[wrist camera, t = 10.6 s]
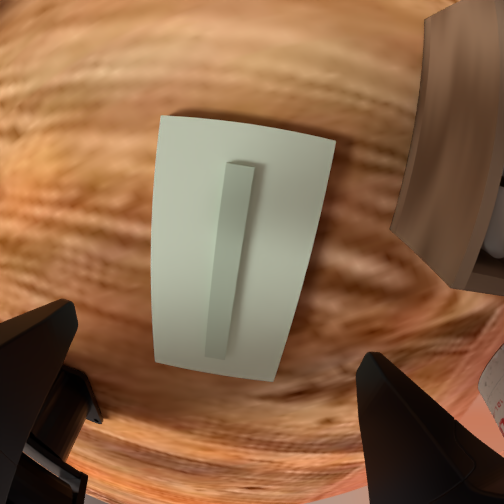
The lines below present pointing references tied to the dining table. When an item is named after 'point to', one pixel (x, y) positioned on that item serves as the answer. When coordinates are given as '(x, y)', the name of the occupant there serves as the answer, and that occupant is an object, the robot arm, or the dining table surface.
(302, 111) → the dining table surface
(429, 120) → the box
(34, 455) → the robot arm
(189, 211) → the lid
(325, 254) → the dining table surface
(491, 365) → the thermos bottle
